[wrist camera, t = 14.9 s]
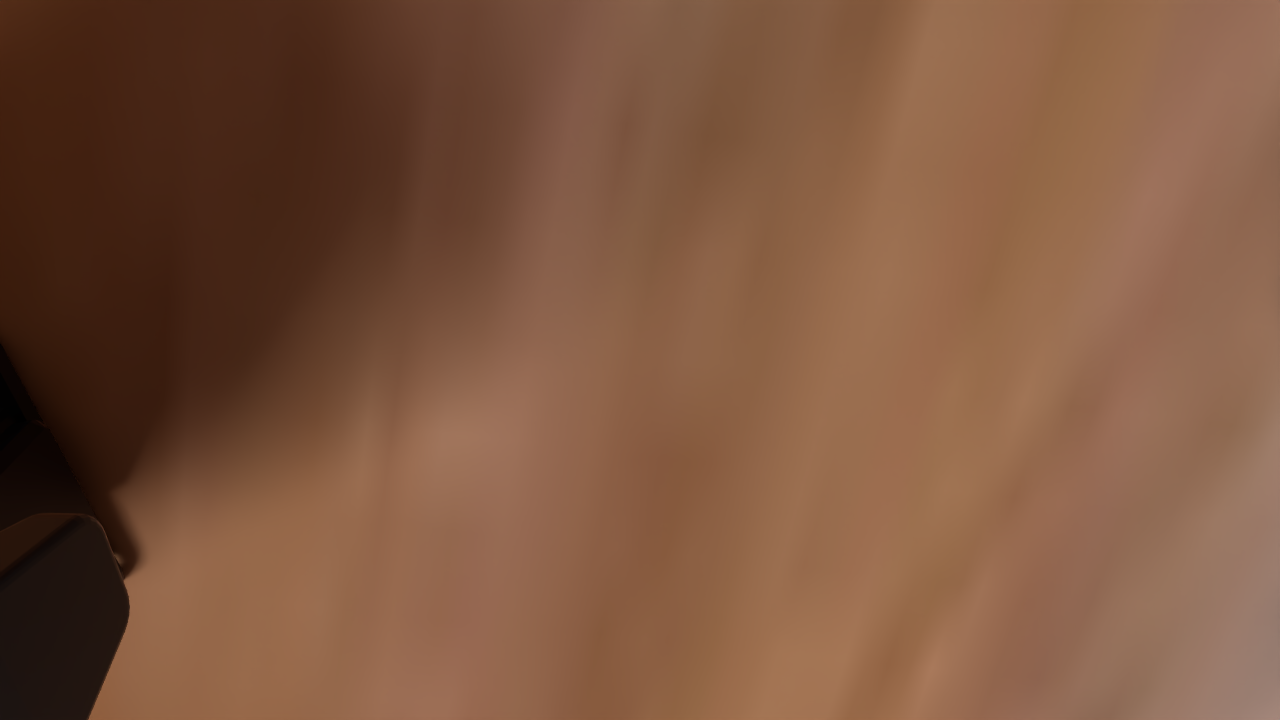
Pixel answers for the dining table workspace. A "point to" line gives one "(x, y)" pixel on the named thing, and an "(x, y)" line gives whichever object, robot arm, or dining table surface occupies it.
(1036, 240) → the dining table surface
